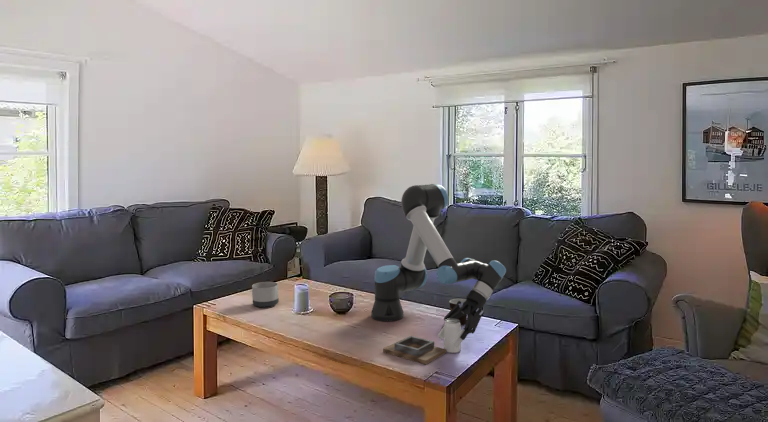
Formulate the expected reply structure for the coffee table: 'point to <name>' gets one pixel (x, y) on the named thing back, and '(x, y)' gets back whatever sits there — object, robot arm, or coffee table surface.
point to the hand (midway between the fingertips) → (447, 341)
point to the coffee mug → (453, 304)
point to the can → (451, 335)
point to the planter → (265, 294)
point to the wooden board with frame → (415, 350)
